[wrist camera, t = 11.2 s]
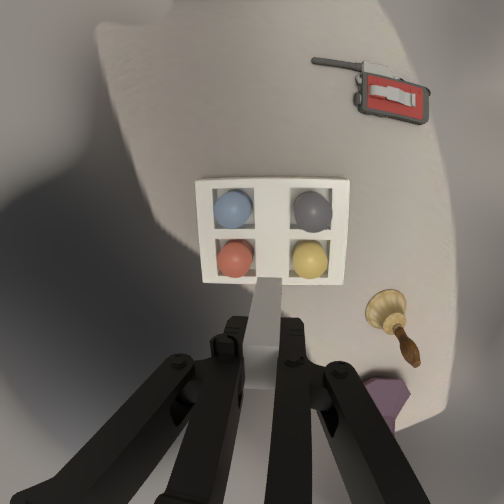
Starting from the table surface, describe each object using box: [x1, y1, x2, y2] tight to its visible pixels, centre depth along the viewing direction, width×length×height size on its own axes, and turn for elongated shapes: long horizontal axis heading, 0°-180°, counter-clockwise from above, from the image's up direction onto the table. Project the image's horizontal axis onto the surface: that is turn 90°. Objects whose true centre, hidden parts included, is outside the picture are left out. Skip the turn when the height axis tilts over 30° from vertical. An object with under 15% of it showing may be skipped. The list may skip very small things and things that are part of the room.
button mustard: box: [292, 239, 328, 279], centre depth 42 cm, size 5×5×4 cm
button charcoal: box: [293, 191, 333, 233], centre depth 38 cm, size 5×5×4 cm
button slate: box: [214, 190, 253, 229], centre depth 41 cm, size 5×5×4 cm
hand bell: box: [365, 289, 421, 368], centre depth 40 cm, size 8×8×16 cm
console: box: [195, 177, 350, 285], centre depth 43 cm, size 16×22×4 cm
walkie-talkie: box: [312, 57, 431, 125], centre depth 34 cm, size 9×4×20 cm
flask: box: [363, 377, 411, 436], centre depth 45 cm, size 16×16×20 cm
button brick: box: [217, 239, 254, 278], centre depth 43 cm, size 5×5×4 cm
